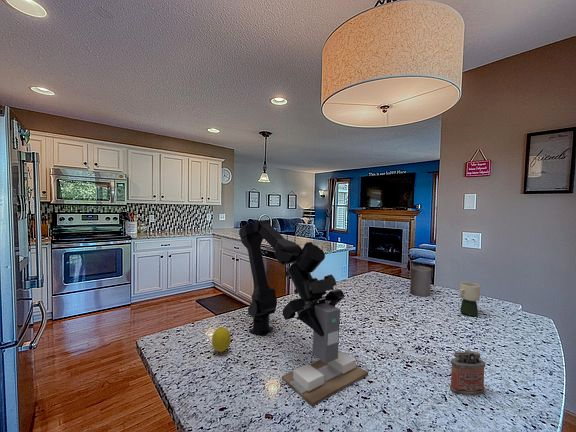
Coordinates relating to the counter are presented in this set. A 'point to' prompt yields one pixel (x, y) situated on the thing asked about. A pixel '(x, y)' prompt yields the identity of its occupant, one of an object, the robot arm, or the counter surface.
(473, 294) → the character mug
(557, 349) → the counter surface
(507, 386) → the counter surface
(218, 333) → the lemon
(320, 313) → the block
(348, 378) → the board
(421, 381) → the counter surface
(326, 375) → the rail
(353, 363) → the terminal blocks
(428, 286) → the pillar candle
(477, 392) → the lighter
